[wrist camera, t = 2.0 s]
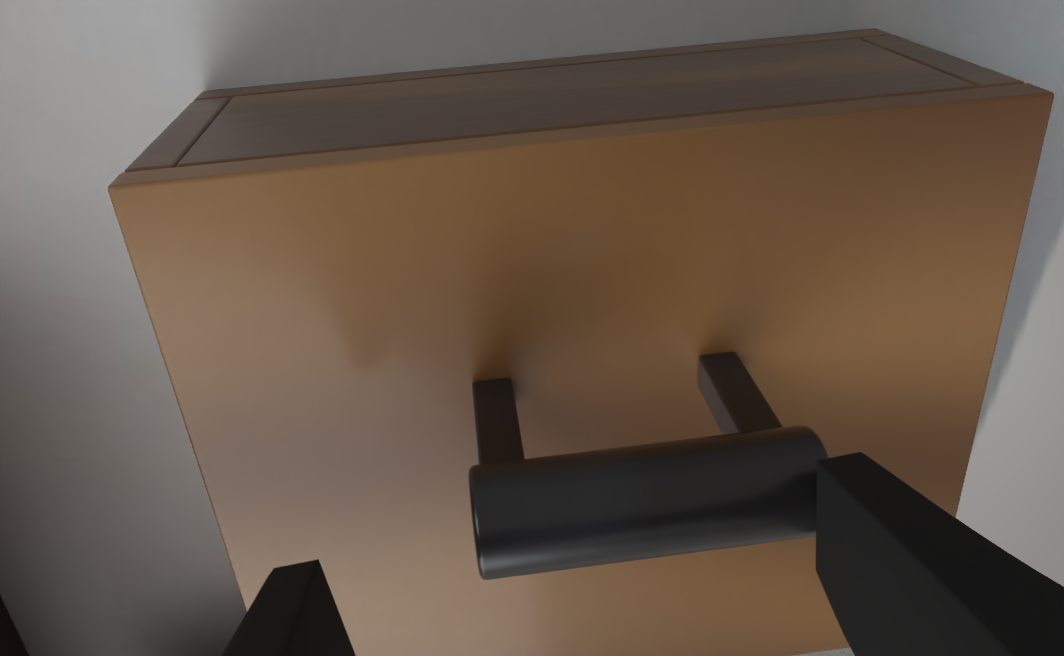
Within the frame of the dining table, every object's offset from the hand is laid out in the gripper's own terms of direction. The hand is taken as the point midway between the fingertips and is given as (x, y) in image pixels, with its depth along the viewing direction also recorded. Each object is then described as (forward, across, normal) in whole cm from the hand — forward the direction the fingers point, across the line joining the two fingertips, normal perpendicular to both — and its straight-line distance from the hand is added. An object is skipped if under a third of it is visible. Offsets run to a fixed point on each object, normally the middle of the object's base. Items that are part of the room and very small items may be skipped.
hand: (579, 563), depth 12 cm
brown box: (+5, -1, +2) cm, 5 cm away
